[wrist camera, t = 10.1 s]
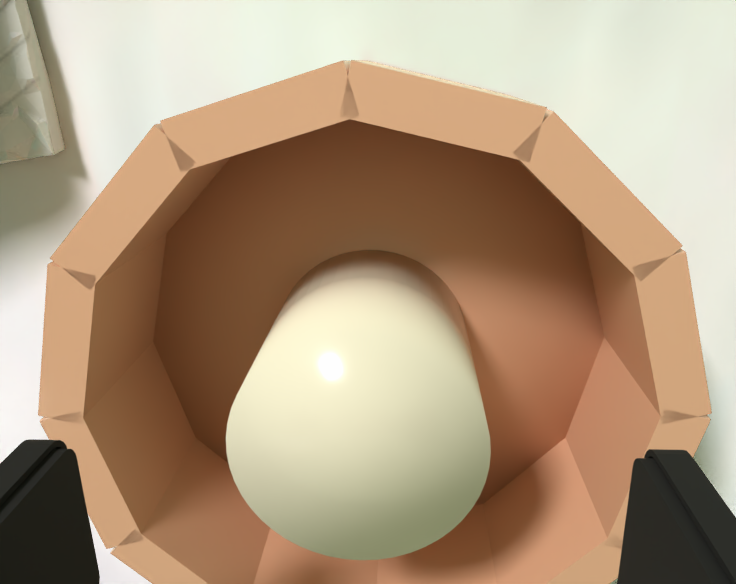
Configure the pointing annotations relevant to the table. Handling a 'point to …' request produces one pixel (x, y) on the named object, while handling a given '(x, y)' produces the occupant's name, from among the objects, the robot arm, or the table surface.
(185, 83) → the table surface
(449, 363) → the egg
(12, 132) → the packaged product
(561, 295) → the bowl
